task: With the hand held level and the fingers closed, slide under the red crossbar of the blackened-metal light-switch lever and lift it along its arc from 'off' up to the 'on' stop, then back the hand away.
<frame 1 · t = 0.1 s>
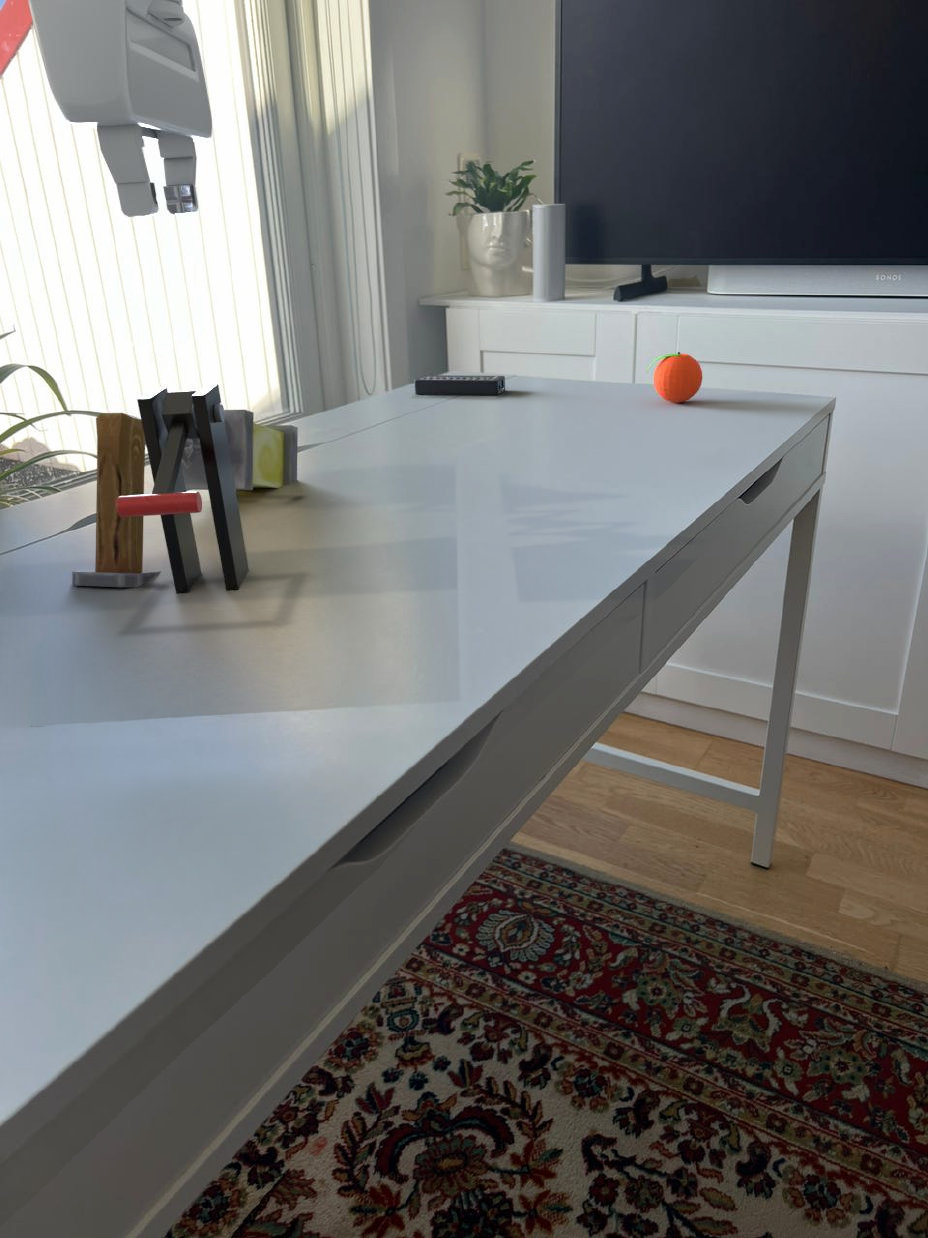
hand: (164, 215, 59), 29 cm above the table, tool pointing down, fingers open, 8 cm apart
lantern: (204, 541, 92), on the table, touching switch bracket
switch bracket: (216, 596, 76), on the table
switch lever: (172, 454, 67), point 13 cm above the table, hinge at -25.0°
multiport hub: (460, 393, 152), on the table
clementine: (673, 403, 135), on the table
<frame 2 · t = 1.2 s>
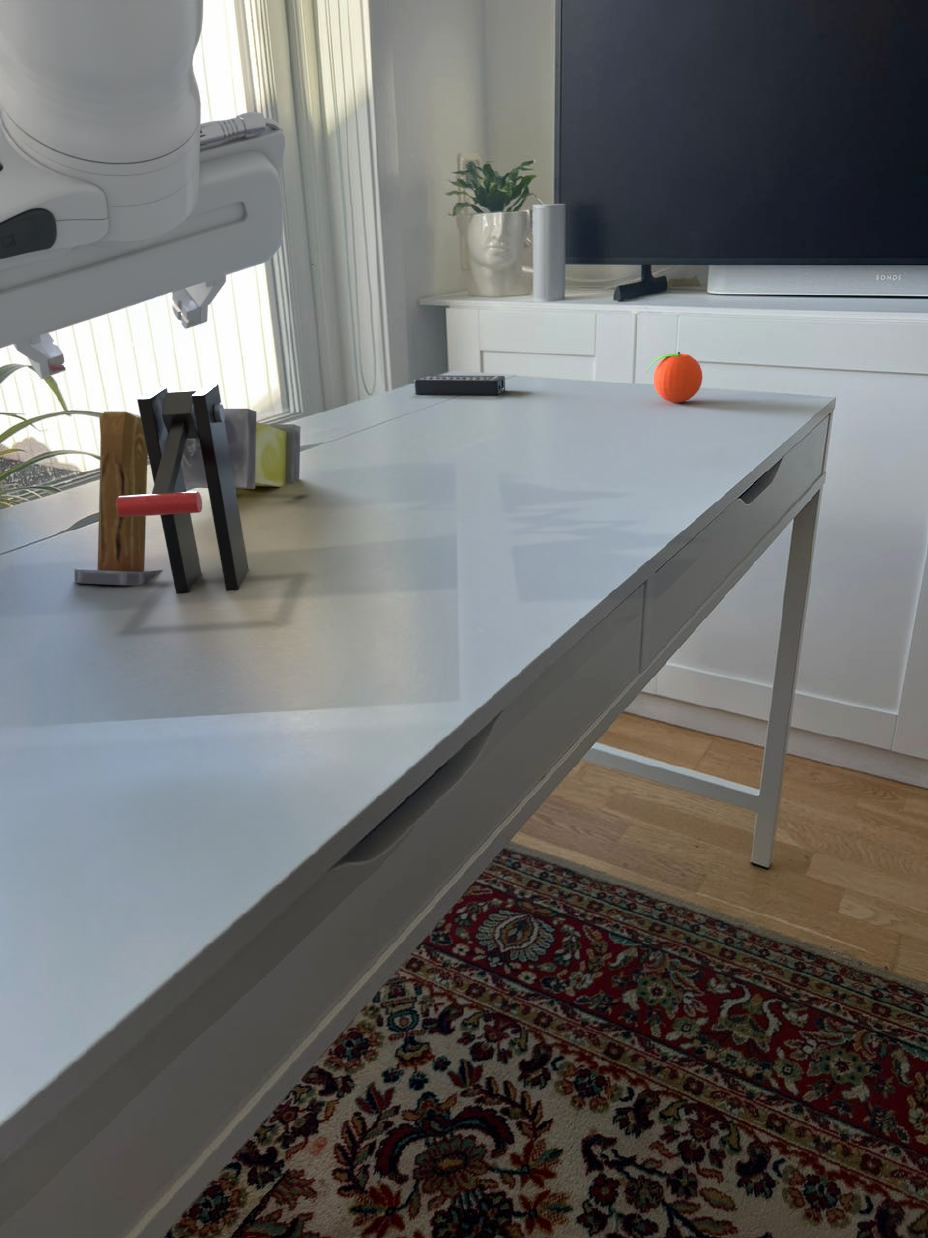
hand: (121, 341, 57), 22 cm above the table, tool tilted 45°, fingers open, 8 cm apart
nothing on the table moved.
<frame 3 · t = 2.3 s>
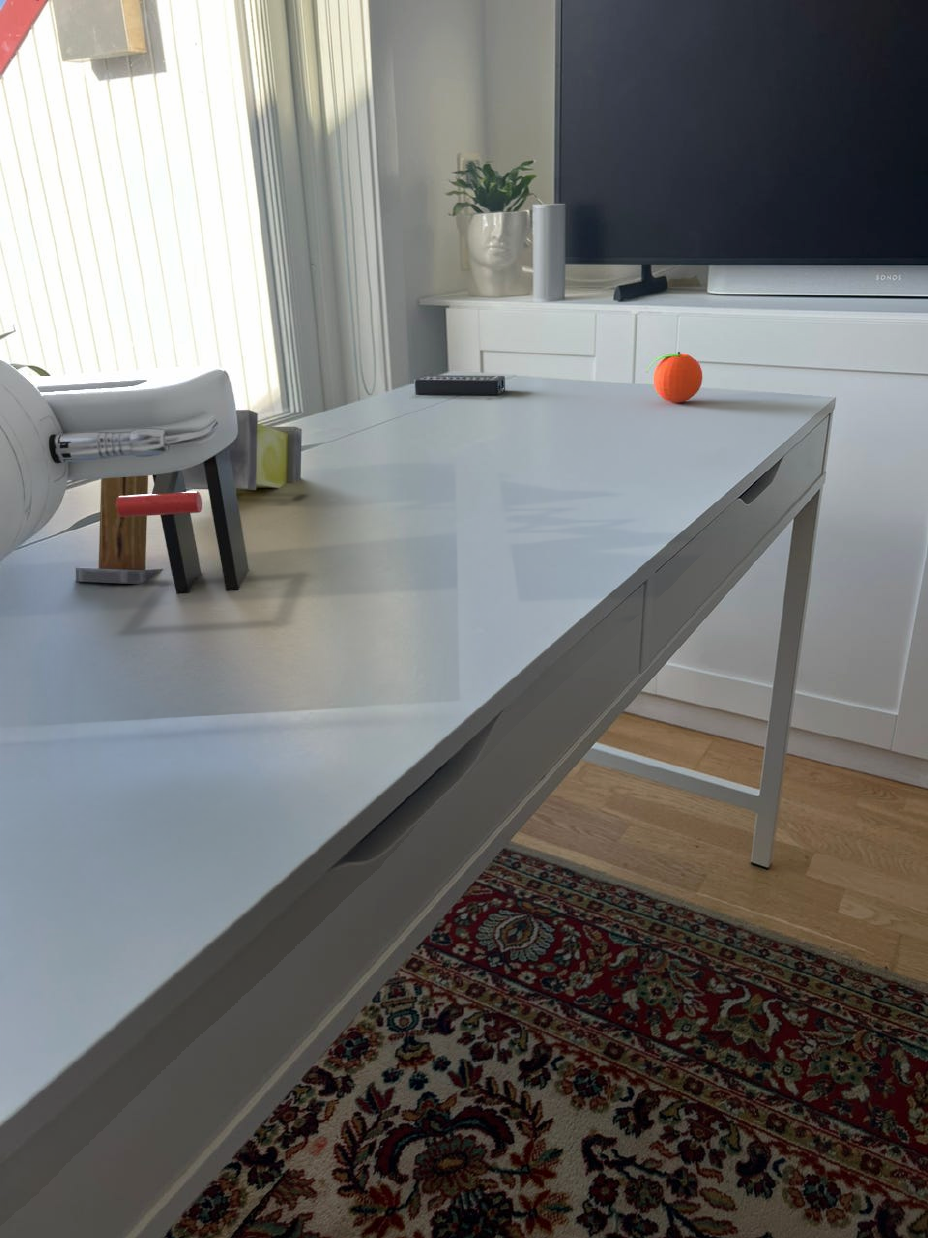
hand: (70, 396, 50), 20 cm above the table, tool horizontal, fingers open, 8 cm apart
nothing on the table moved.
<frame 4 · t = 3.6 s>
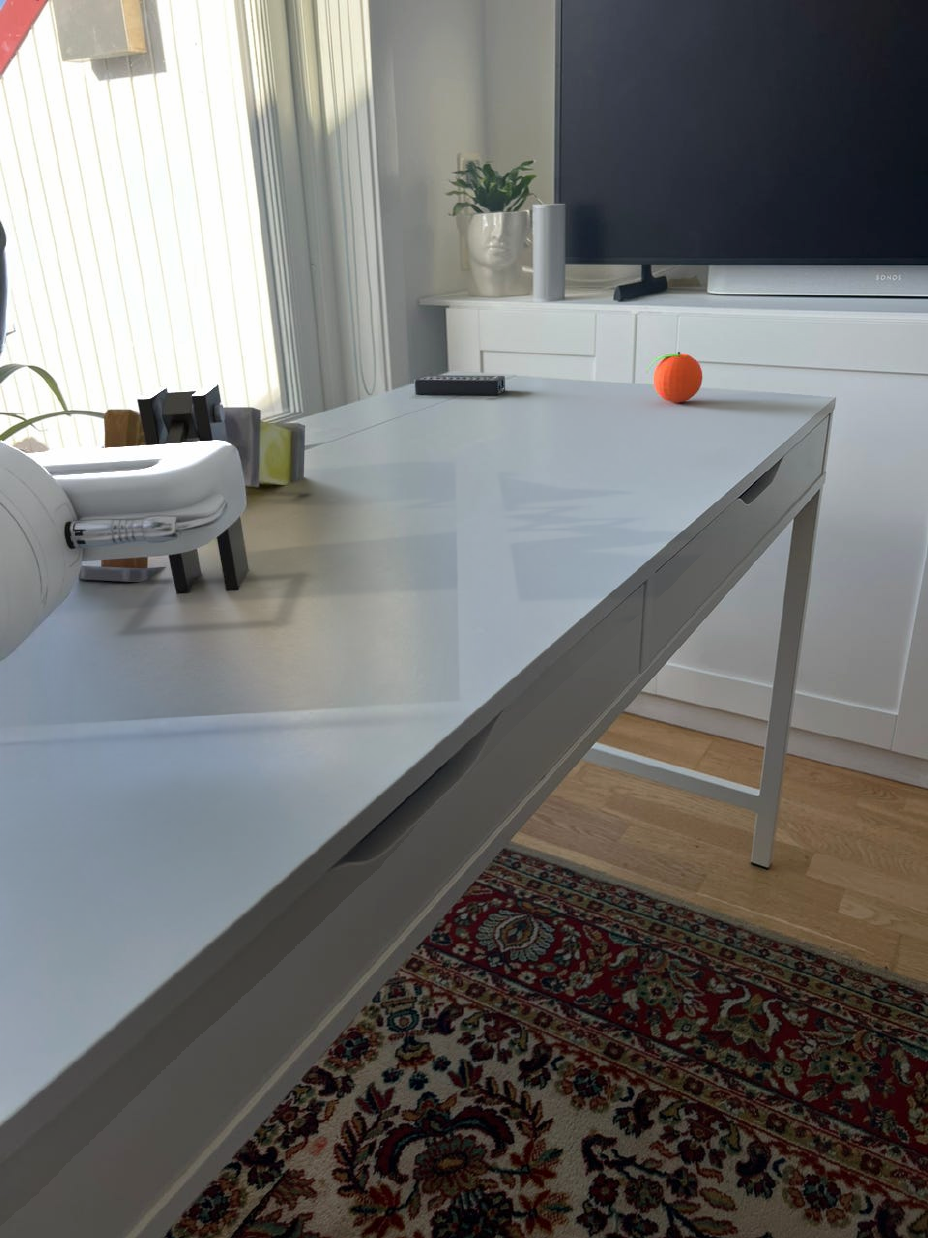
hand: (83, 461, 51), 17 cm above the table, tool horizontal, fingers closed
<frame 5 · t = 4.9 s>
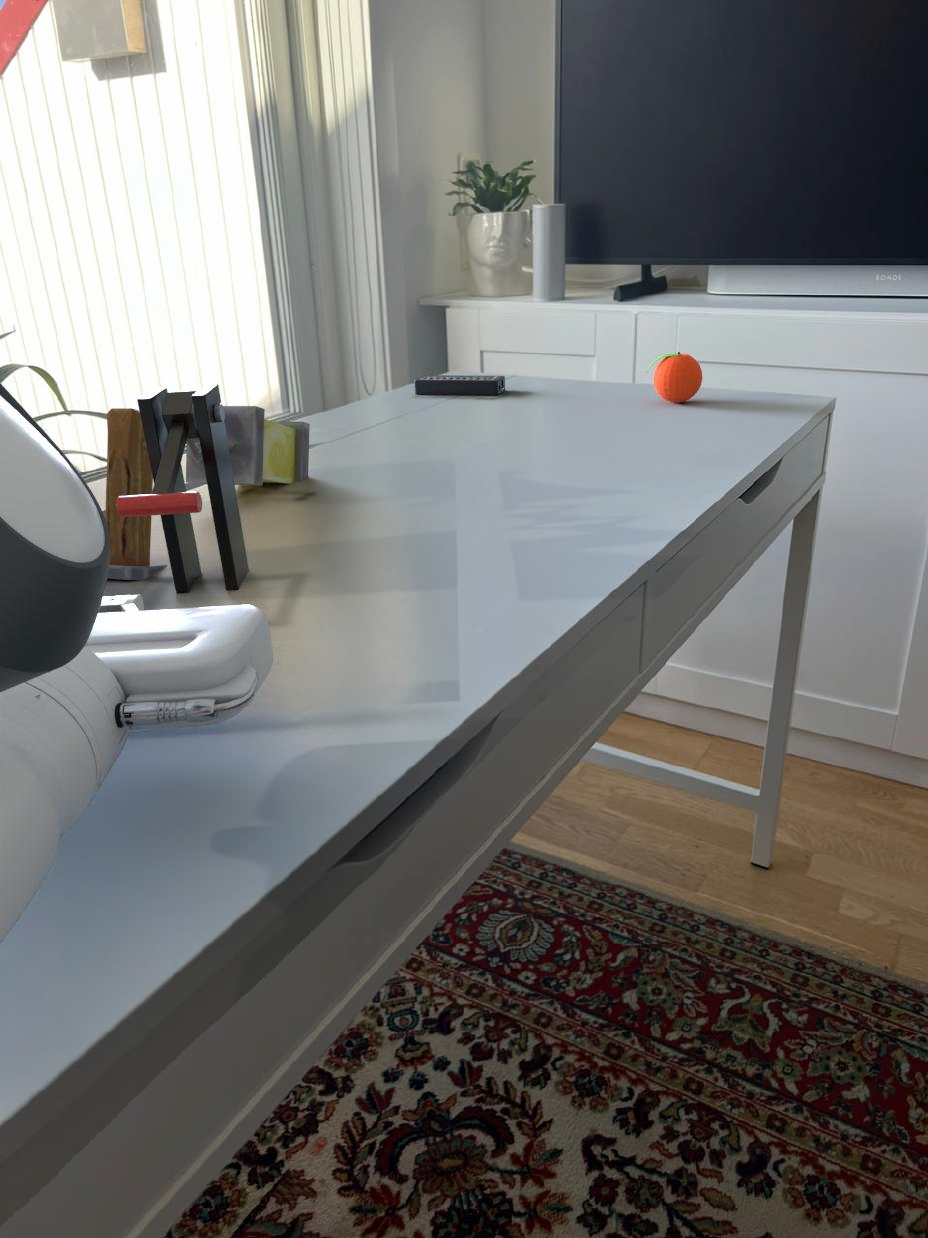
hand: (120, 607, 55), 8 cm above the table, tool horizontal, fingers closed
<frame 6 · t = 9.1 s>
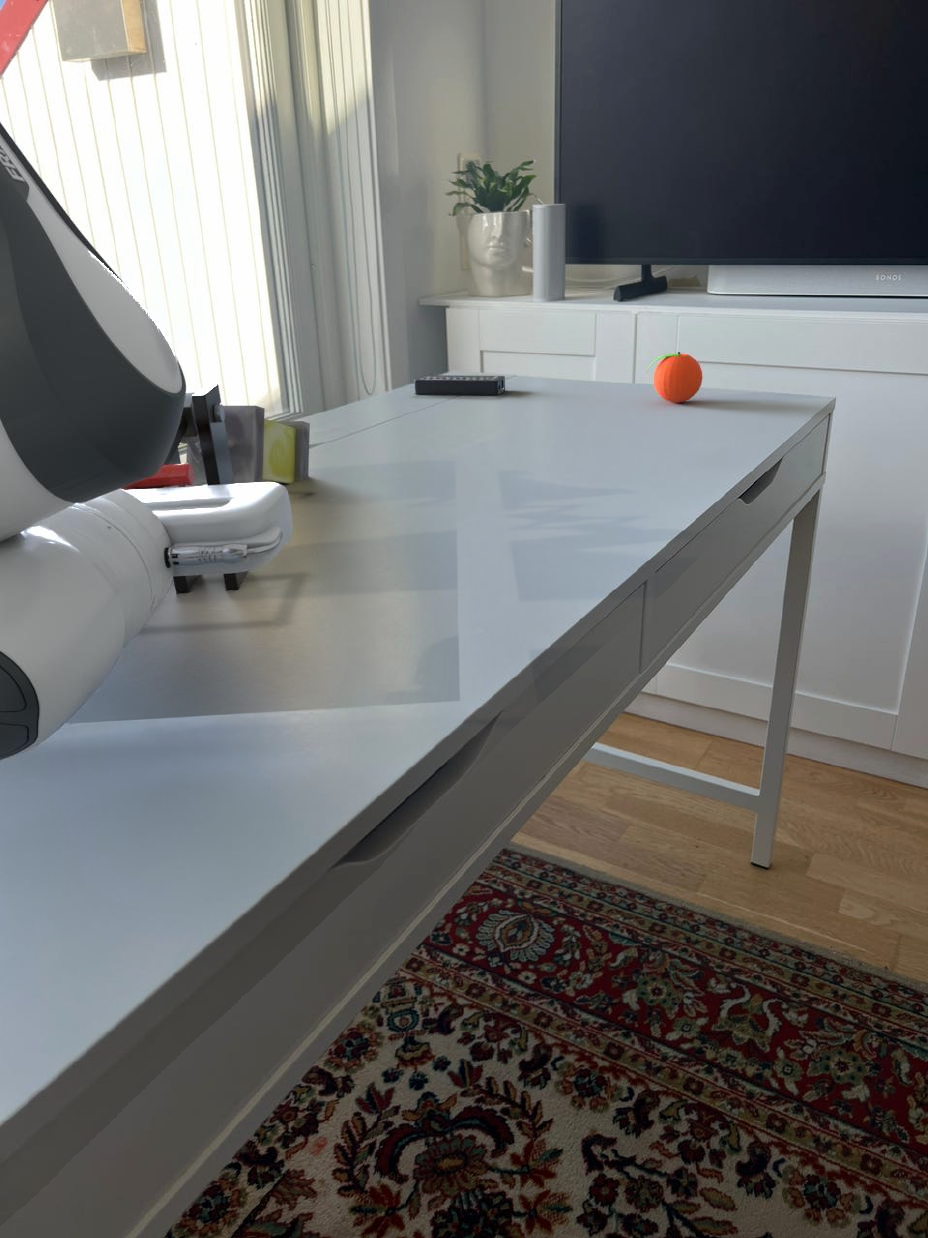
hand: (158, 493, 64), 11 cm above the table, tool horizontal, fingers closed
switch lever: (168, 441, 66), point 14 cm above the table, hinge at -11.8°, touching gripper
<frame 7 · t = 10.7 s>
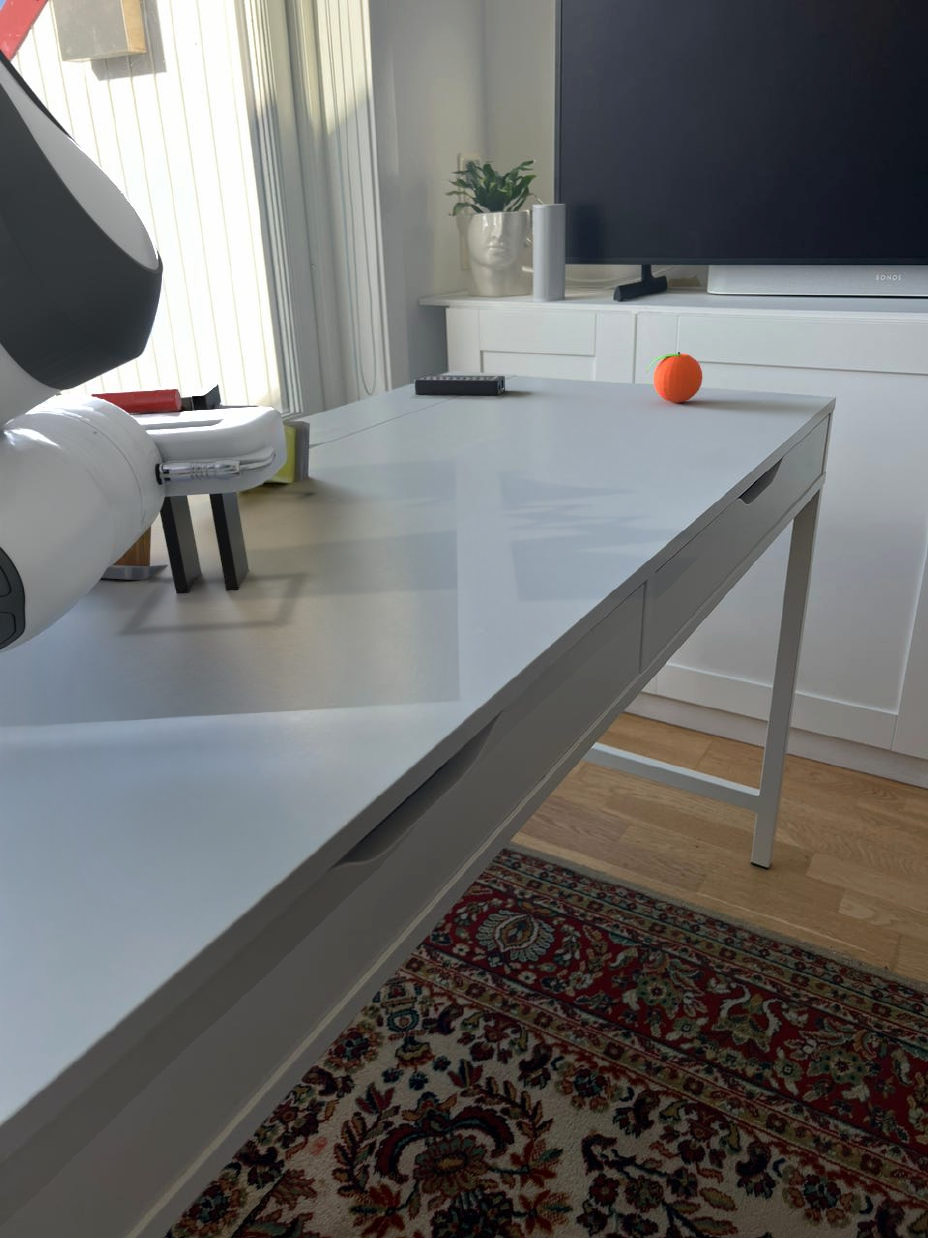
hand: (151, 425, 63), 16 cm above the table, tool horizontal, fingers closed, pressing on switch lever
switch lever: (163, 409, 66), point 16 cm above the table, hinge at 16.8°, touching gripper
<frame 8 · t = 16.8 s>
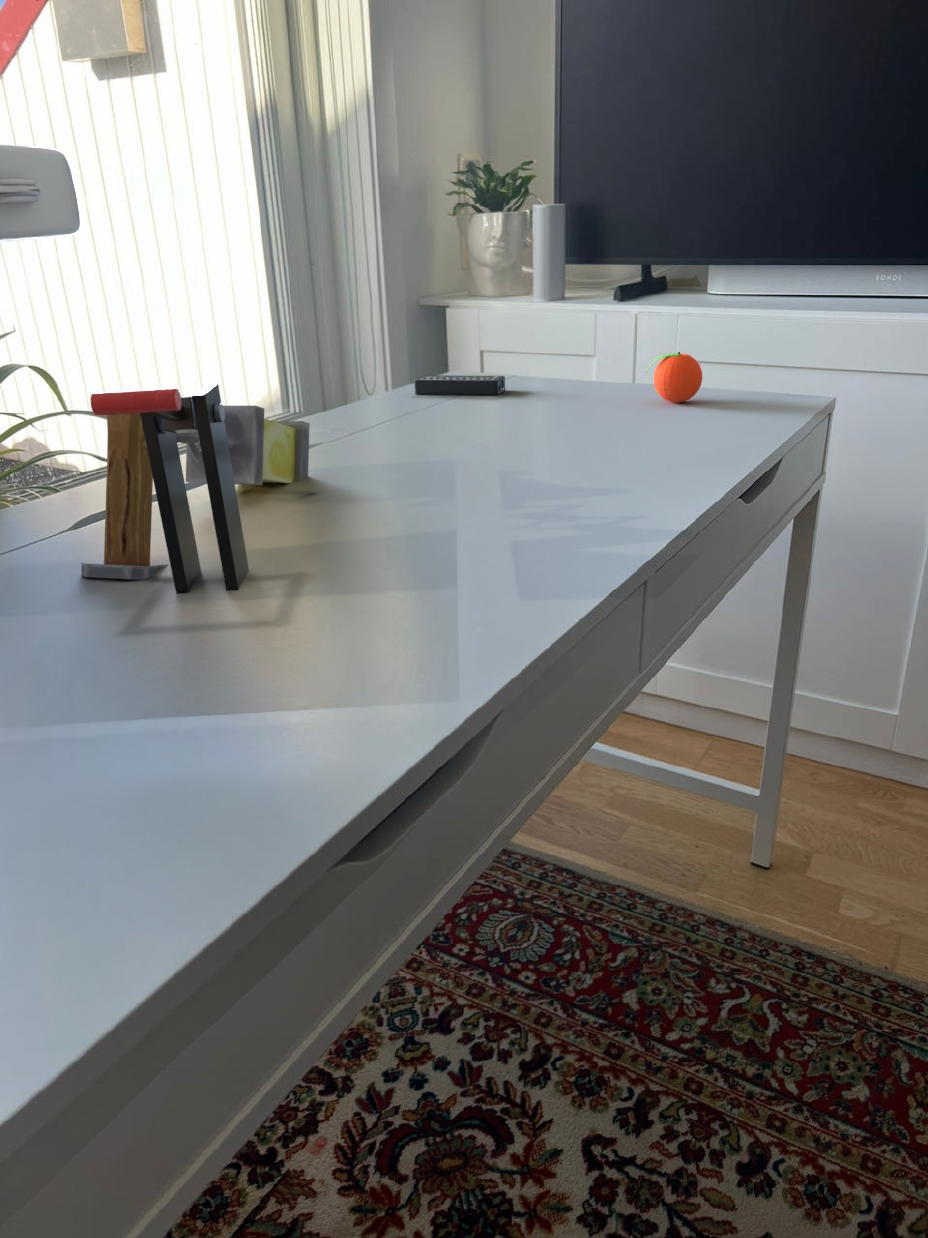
switch lever: (163, 409, 66), point 16 cm above the table, hinge at 16.8°
at the end: switch lever at +17° (first picture: -25°); the gripper is holding nothing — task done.
